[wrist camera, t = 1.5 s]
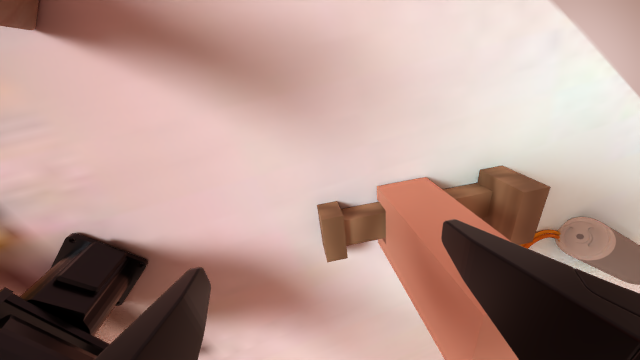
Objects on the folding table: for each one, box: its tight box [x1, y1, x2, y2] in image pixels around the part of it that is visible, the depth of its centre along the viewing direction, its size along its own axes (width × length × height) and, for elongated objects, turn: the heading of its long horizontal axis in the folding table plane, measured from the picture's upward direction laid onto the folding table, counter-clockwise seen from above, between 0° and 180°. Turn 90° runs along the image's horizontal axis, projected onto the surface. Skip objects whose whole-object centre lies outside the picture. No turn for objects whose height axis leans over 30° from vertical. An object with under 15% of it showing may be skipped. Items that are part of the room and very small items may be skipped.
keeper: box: [377, 177, 519, 360], centre depth 19 cm, size 5×7×14 cm
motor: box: [520, 217, 640, 285], centre depth 35 cm, size 23×22×5 cm
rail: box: [317, 166, 550, 262], centre depth 24 cm, size 20×6×5 cm, turn 97°
